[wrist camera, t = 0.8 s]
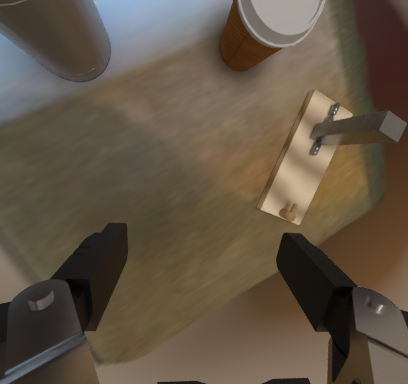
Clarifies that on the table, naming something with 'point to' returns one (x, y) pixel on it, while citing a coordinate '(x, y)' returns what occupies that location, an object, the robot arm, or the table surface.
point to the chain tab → (357, 129)
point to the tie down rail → (300, 162)
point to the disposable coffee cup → (265, 29)
